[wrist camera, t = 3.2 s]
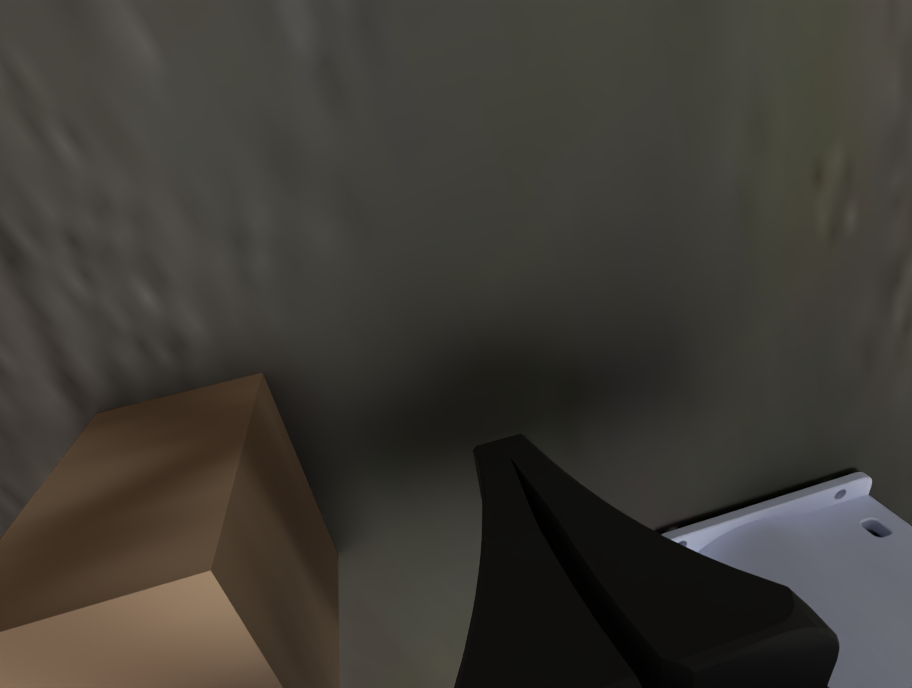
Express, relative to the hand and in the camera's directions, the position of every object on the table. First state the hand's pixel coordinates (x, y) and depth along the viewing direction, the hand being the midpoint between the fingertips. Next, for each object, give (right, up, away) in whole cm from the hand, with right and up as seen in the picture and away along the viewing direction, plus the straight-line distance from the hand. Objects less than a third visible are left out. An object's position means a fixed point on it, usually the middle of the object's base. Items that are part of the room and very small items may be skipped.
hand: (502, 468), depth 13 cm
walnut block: (-8, -1, +1) cm, 8 cm away
